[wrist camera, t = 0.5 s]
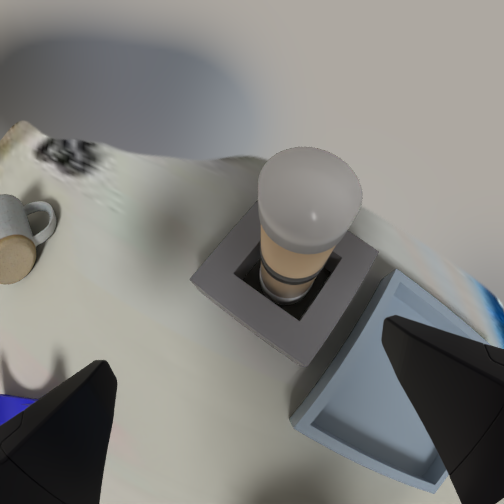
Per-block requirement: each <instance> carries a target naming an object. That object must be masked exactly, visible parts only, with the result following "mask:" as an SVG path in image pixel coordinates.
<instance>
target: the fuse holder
mask: <svg viewBox="0 0 504 504" xmlns="http://www.w3.org/2000/svg"><path fill="white" fill-rule="evenodd" d="M260 240H261V223H260V219H259V212H258V200H257V201H256V203H255V204H254V205H253V206H252V207H251V208H250V209H249V210H248V212H247V213H246V214H245V215H244V216H243V217H242V218H241V220H240V221H239V222H238V223H237V224H236V225H235V226H234V228H233V229H232V230H231V231H230V232H229V233H228V235H227V236H226V237H225V238H224V239H223V240H222V242H221V243H220V244H219V245H218V246H217V247H216V248H215V250H214V251H213V252H212V253H211V254H210V256H209V257H208V258H207V259H206V260H205V261H204V263H203V264H202V265H201V266H200V267H199V269H198V270H197V271H196V272H195V273H194V274H193V276H192V277H191V278H190V281H191V282H192V283H193V284H194V285H195V286H196V288H197V289H198V290H199V291H200V292H201V293H202V294H204V295H205V296H206V297H207V298H209V299H210V300H211V301H213V302H214V303H215V304H216V305H218V306H219V307H220V308H221V309H223V310H224V311H225V312H227V313H228V314H229V315H231V316H232V317H233V318H234V319H236V320H237V321H238V322H240V323H241V324H242V325H244V326H245V327H246V328H248V329H249V330H250V331H252V332H253V333H255V334H256V335H257V336H259V337H260V338H261V339H263V340H264V341H266V342H267V343H268V344H270V345H271V346H272V347H274V348H275V349H277V350H278V351H280V352H281V353H282V354H284V355H285V356H287V357H288V358H289V359H291V360H292V361H294V362H295V363H297V364H298V365H300V366H305V367H307V366H308V365H309V364H310V362H311V361H312V359H313V358H314V357H315V355H316V354H317V352H318V351H319V349H320V348H321V347H322V345H323V344H324V342H325V341H326V339H327V338H328V336H329V335H330V333H331V332H332V330H333V329H334V327H335V326H336V324H337V323H338V321H339V319H340V318H341V316H342V315H343V313H344V312H345V310H346V308H347V307H348V305H349V304H350V302H351V300H352V299H353V297H354V295H355V294H356V292H357V290H358V289H359V287H360V285H361V283H362V282H363V280H364V278H365V276H366V275H367V273H368V271H369V269H370V268H371V266H372V264H373V262H374V260H375V258H376V257H377V255H378V253H379V251H377V250H376V249H374V248H373V247H371V246H370V245H369V244H367V243H366V242H364V241H363V240H361V239H360V238H358V237H357V236H355V235H354V234H352V233H351V232H349V231H347V232H346V234H345V235H344V237H343V238H342V240H341V241H340V242H339V243H338V244H337V245H336V246H335V248H334V249H333V251H332V253H331V254H330V256H329V257H328V260H327V262H326V264H325V266H324V268H325V269H327V270H328V271H330V272H331V274H330V275H329V277H328V278H327V280H326V281H325V283H324V284H323V286H322V287H321V289H320V290H319V292H318V293H317V295H316V296H315V298H314V299H313V301H312V302H311V303H310V305H309V306H308V308H307V309H306V311H305V312H304V313H303V315H302V316H301V318H300V319H299V320H297V319H296V318H294V317H293V316H291V315H290V314H288V313H287V312H286V311H284V310H283V309H281V308H280V307H279V306H277V305H276V304H274V303H273V302H272V301H270V300H269V299H267V298H266V297H265V296H263V295H262V294H260V293H259V292H258V291H256V290H255V289H254V288H252V287H251V286H249V285H248V284H247V283H245V282H244V281H243V279H244V277H245V276H246V275H247V274H248V272H249V271H250V270H251V269H252V267H253V266H254V265H255V264H256V262H257V261H258V260H259V259H260Z"/></svg>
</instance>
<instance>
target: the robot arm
mask: <svg viewBox="0 0 504 504" xmlns="http://www.w3.org/2000/svg"><path fill="white" fill-rule="evenodd" d="M381 341H382V345H383V348H384V350H385V352H386V354H387V356H388V358H389V361H390V363H391V365H392V367H393V370H394V372H395V374H396V376H397V378H398V381H399V382H400V384H401V386H402V388H403V389H404V391H405V393H406V395H407V396H408V398H409V400H410V402H411V403H412V405H413V407H414V409H415V411H416V412H417V414H418V416H419V418H420V420H421V421H422V423H423V425H424V427H425V429H426V431H427V433H428V434H429V436H430V438H431V440H432V442H433V444H434V446H435V448H436V450H437V452H438V454H439V456H440V458H441V460H442V462H443V464H444V466H445V468H446V470H447V472H448V474H449V475H450V476H449V477H450V479H451V481H452V483H453V485H454V487H455V490H456V492H457V494H458V496H459V499H460V501H461V503H462V504H496V503H497V502H499V501H500V500H501V499H503V498H504V349H501V348H497V347H494V346H491V345H488V344H483V343H481V342H478V341H475V340H472V339H469V338H466V337H462V336H459V335H456V334H453V333H450V332H447V331H444V330H441V329H438V328H435V327H432V326H429V325H425V324H422V323H419V322H416V321H413V320H410V319H407V318H404V317H401V316H398V315H393V316H389V317H386V318H385V319H384V322H383V329H382V337H381ZM116 392H117V379H116V377H115V375H114V373H113V371H112V369H111V367H110V365H109V364H108V362H107V361H105V360H95V361H93V362H92V363H90V364H89V365H87V366H86V367H85V368H83V369H82V370H80V371H79V372H77V373H76V374H75V375H73V376H72V377H70V378H69V379H67V380H66V381H65V382H63V383H62V384H60V385H59V386H57V387H56V388H54V389H53V390H52V391H50V392H49V393H47V394H46V395H44V396H43V397H42V398H40V399H39V400H37V401H36V402H34V403H33V404H32V405H30V406H29V407H27V408H26V409H25V410H24V411H21V412H20V413H19V414H17V415H16V416H14V417H13V418H11V419H10V420H8V421H7V422H5V423H3V424H2V425H0V504H99V502H100V493H101V486H102V479H103V472H104V466H105V460H106V454H107V449H108V443H109V438H110V433H111V429H112V423H113V417H114V408H115V399H116Z"/></svg>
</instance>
